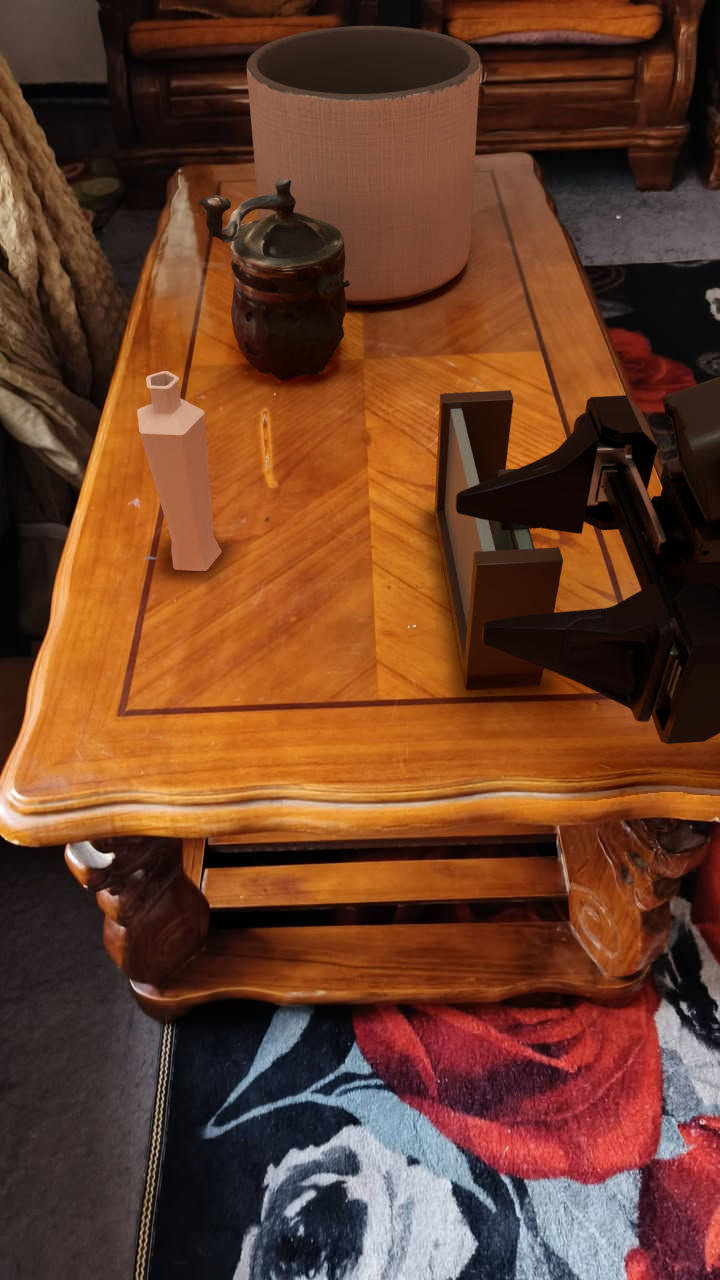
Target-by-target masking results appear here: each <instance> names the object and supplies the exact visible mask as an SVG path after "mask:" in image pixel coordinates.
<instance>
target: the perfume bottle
mask: <svg viewBox="0 0 720 1280" xmlns="http://www.w3.org/2000/svg"><path fill="white" fill-rule="evenodd" d="M179 380H180V377H179V376H178V375H175V374H174V373H172V372H171V371H167V370H162V371H160V372H156V373H153V374H150V375H147V376H146V378H145V381H146V382H145V383H146V388H147V389H149V394H150V399H151V403H149V404H147V405H144V406H142V407H139V408H138V409H137V410H136V414H137V422H138V432H139V435H140V439H141V442H142V445H143V446H142V447H143V449H144V451H145V455H146V459H147V463H148V466H149V469H150V472H151V476H152V479H153V482H154V487H155V489H156V493H157V496H158V500H159V503H160V507H161V509H162V513H163V516H164V519H165V523H166V527H167V530H168V532H169V536H170V540H171V547H170V549H171V550H170V552H171V559H172V560H171V561H172V568H173V570H176V571H188V572H189V571H190V572H191V571H192V572H206V571H208V570H209V569H210V568H211V566H212V565H213V564H214V562H216V561H217V559H218V558H219V556H220V555H221V554H222V551H223V550H222V549H221V547H220V545H219V543H218V542H217V540H216V538H215V535H214V534H215V533H214V522H213V509H212V495H211V480H210V468H209V454H208V453H209V452H208V440H207V439H208V438H207V427H206V426H207V425H206V413H205V410H203V409H202V408H200V407H198V406H196V405H194V404H192V403H191V402H189V401H187V400H185V399H183V398H181V393H180V389H179V384H178V382H179Z"/></svg>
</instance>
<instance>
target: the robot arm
mask: <svg viewBox="0 0 720 1280" xmlns="http://www.w3.org/2000/svg"><path fill="white" fill-rule="evenodd" d="M662 405H663V410H664V413H665V415H666V417H668V418H670V423H671V426H672V433H673V438H674V444H675V450H676V455H677V456H676V457H677V459H678V460H668V461H667V460H666V461H664V464H663V467H662V471H661V475H660V480H659V482H660V484H661V487H662V488H661V491H660V495H653V496H652V498H651V497H650V495H649V492H648V490H649V485H650V482H651V477H652V473H653V469H654V465H655V460H656V456H657V452H658V448H659V446H658V444H657V441H656V439H655V437H654V435H653V433H652V431H651V429H650V427H649V424H648V423H647V420H646V418H645V416H644V414H643V412H642V409H641V408H640V407H639V406H638V405H637V404H636V403H635V402H634V401H633V400H632V399H631V397H629V396H628V395H627V394H624V395H604V396H603V395H601V396H591V397H589V398H588V399H587V400H586V404H585V411H584V412H583V413H581V414H580V415H579V416H578V417H576V419H575V420H574V424H573V429H572V432H571V433H570V435H569V436H567V438H566V439H565V440H564V441H563V442H562V444H560V446H559V447H557V448H556V449H555V450H554V451H551V452H550V453H548V454H547V455H544V456H542V457H540V458H538V459H536V460H534V461H532V462H530V463H528V464H525V465H523V466H521V467H519V468H514V469H515V470H513V471H510V472H508V473H505V474H503V475H500V476H498V477H495V478H493V479H490V480H488V481H485V482H483V483H480V484H478V485H475V486H473V487H470V488H468V489H465V490H463V491H460V492H459V493H458V494H457V495H456V505H455V507H456V512H457V513H459V514H462V515H466V516H471V517H475V518H479V519H484V520H490V521H497V522H503V523H510V524H517V525H523V526H530V527H537V528H536V529H545V530H549V531H557V532H564V533H569V534H570V533H571V534H576V535H581V534H583V531H584V530H583V529H584V524H588V525H589V526H592V527H594V528H596V529H598V530H600V531H615V530H618V532H619V535H620V537H621V540H622V543H623V545H624V548H625V550H626V552H627V556H628V558H629V561H630V564H631V566H632V569H633V571H634V574H635V576H636V579H637V583H638V584H639V587H640V589H641V590H639V591H638V592H636V593H634V594H632V595H630V596H629V597H626V598H625V599H623V600H622V601H620V602H618V603H617V604H614V605H612V606H609V607H602V608H601V607H600V608H591V609H580V610H579V609H578V610H570V611H569V610H567V611H556V612H554V613H545V614H534V615H523V616H515V617H509V618H504V619H499V620H493V621H488V622H486V623H484V625H483V629H482V640H483V643H484V644H485V645H487V646H489V647H492V648H494V649H497V650H499V651H502V652H504V653H507V654H509V655H512V656H514V657H517V658H519V659H522V660H524V661H527V662H529V663H532V664H534V665H537V666H539V667H542V668H544V670H547V671H549V672H552V673H555V674H556V675H559V676H561V677H563V678H565V679H569V680H571V681H573V682H575V683H577V684H580V685H582V686H583V687H585V688H588V689H590V690H592V691H594V692H596V693H598V694H599V695H601V696H604V697H606V698H608V699H610V700H612V701H614V702H616V703H617V704H620V705H622V706H623V707H626V708H627V709H629V710H630V711H631V713H632V716H633V718H634V720H635V721H636V722H639V723H647V722H650V720H651V719H652V720H653V723H654V727H655V729H656V732H657V735H658V738H659V741H660V743H663V744H665V745H672V744H673V745H675V744H678V745H679V744H691V743H693V744H694V743H704V742H707V741H708V740H710V739H712V738H714V737H715V736H717V735H719V734H720V376H718V377H715V378H711V379H708V380H706V381H704V382H700V383H697V384H694V385H691V386H689V387H685V388H683V389H680V390H677V391H674V392H670V393H668V394H665V395H664V396H663V398H662Z"/></svg>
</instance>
